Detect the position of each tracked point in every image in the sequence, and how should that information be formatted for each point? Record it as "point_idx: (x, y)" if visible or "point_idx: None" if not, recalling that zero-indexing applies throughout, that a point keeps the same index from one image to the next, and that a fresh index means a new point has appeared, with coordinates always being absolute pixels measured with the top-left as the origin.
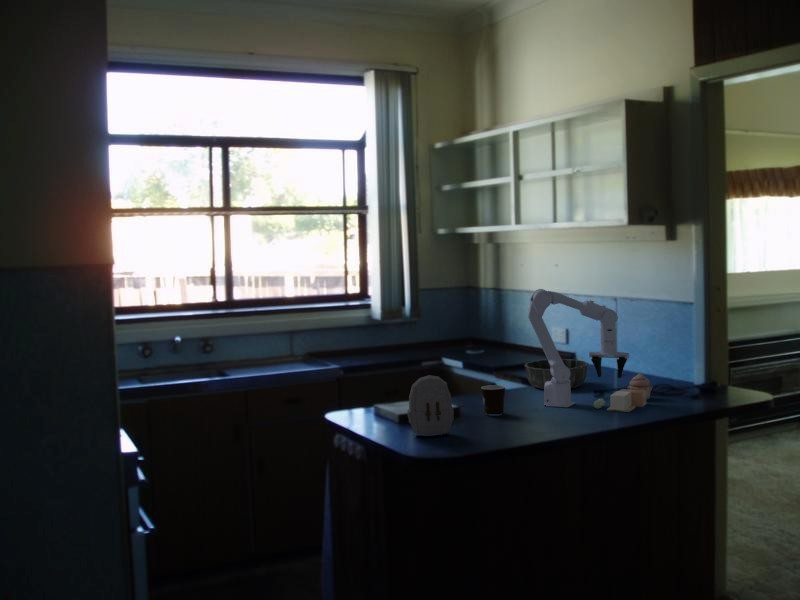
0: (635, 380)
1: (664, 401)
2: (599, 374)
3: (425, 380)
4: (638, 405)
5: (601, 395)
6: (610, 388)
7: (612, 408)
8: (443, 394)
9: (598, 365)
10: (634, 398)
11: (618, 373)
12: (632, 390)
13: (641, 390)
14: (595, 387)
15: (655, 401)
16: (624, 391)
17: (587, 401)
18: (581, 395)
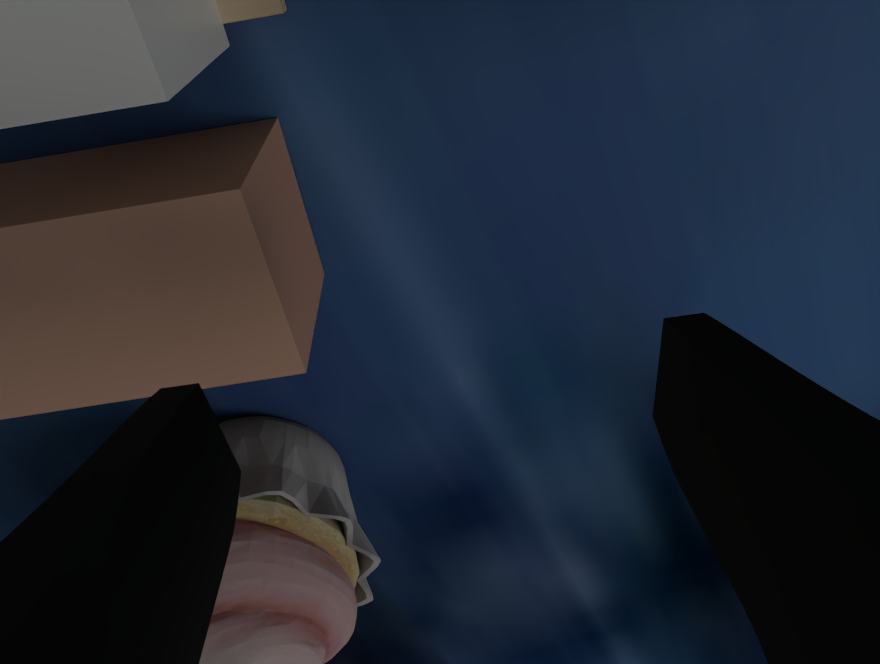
0: (229, 609)
1: (20, 470)
2: (689, 357)
3: None
4: (11, 166)
5: (651, 456)
6: (652, 636)
7: None
8: None
9: (874, 579)
10: (11, 192)
11: (123, 452)
12: (113, 356)
13: (13, 403)
14: None
15: (83, 442)
16: (20, 113)
17: (725, 155)
18: (838, 392)
